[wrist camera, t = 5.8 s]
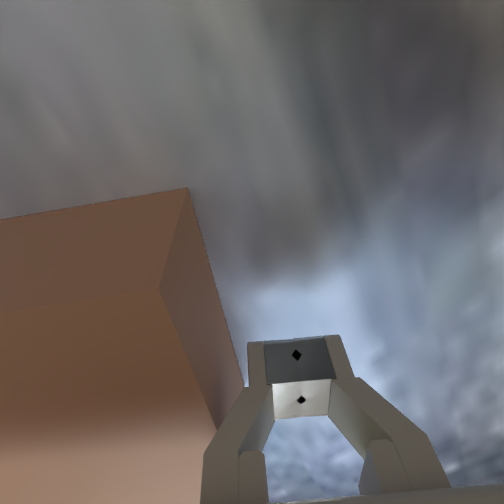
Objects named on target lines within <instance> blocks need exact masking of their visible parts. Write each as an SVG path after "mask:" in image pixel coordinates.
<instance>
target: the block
mask: <svg viewBox="0 0 504 504" xmlns="http://www.w3.org/2000/svg"><path fill="white" fill-rule="evenodd" d="M243 389H244V382H243V379H242V375H241V372H240V368H239V365H238V361H237V358H236V354H235V351H234V347H233V344H232V340H231V337H230V333H229V330H228V326H227V323H226V319H225V316H224V312H223V309H222V305H221V302H220V298H219V295H218V291H217V288H216V284H215V281H214V277H213V274H212V270H211V267H210V263H209V260H208V256H207V253H206V249H205V246H204V242H203V239H202V235H201V232H200V228H199V225H198V221H197V218H196V214H195V211H194V207H193V204H192V200H191V197H190V193H189V190H188V188H183V189H177V190H171V191H165V192H159V193H154V194H148V195H142V196H136V197H130V198H124V199H118V200H113V201H107V202H101V203H95V204H89V205H83V206H77V207H72V208H66V209H60V210H54V211H48V212H42V213H36V214H31V215H25V216H19V217H13V218H7V219H1V220H0V504H200V494H201V481H202V468H203V454H204V452H205V450H206V448H207V447H208V445H209V444H210V442H211V440H212V439H213V437H214V435H215V434H216V432H217V431H218V429H219V427H220V426H221V424H222V423H223V421H224V419H225V418H226V416H227V414H228V413H229V411H230V410H231V408H232V406H233V405H234V403H235V402H236V400H237V398H238V397H239V395H240V394H241V392H242V390H243Z"/></svg>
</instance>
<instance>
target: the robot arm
mask: <svg viewBox="0 0 504 504" xmlns="http://www.w3.org/2000/svg"><path fill="white" fill-rule="evenodd" d="M247 355H248V378H249V387H244V389H243V390H242V392H241V394H240V395H239V397H238V398H237V400H236V402H235V403H234V405H233V406H232V408H231V410H230V411H229V413H228V414H227V416H226V418H225V419H224V421H223V423H222V424H221V426H220V427H219V429H218V431H217V432H216V434H215V435H214V437H213V439H212V440H211V442H210V444H209V445H208V447H207V448H206V450H205V452H204V454H203V468H202V481H201V494H200V504H504V483H497V484H485V485H473V486H462V487H452V486H451V484H450V482H449V480H448V478H447V476H446V474H445V472H444V470H443V467H442V465H441V463H440V461H439V459H438V457H437V455H436V453H435V451H434V449H433V447H432V445H431V442H430V440H429V438H428V436H427V434H426V433H424V432H423V431H422V430H421V429H420V428H418V427H417V426H416V425H415V424H414V423H413V422H411V421H410V420H409V419H408V418H407V417H406V416H404V415H403V414H402V413H401V412H400V411H399V410H397V409H396V408H395V407H394V406H393V405H392V404H390V403H389V402H388V401H387V400H386V399H384V398H383V397H382V396H381V395H380V394H379V393H377V392H376V391H375V390H374V389H373V388H372V387H370V386H369V385H368V384H367V383H366V382H365V381H363V380H362V379H361V378H360V377H358V378H355V376H354V373H353V371H352V368H351V365H350V362H349V359H348V357H347V354H346V351H345V348H344V345H343V343H342V340H341V337H340V336H339V335H327V336H314V337H304V338H294V339H286V340H270V341H256V342H248V343H247ZM324 415H328V417H329V418H330V420H331V421H332V422H333V423H334V424H335V426H336V427H337V428H338V429H339V430H340V432H341V433H342V434H343V435H344V436H345V438H346V439H347V440H348V441H349V442H350V444H351V445H352V446H353V447H354V448H355V449H356V451H357V452H358V453H359V454H360V455H361V457H362V458H363V459H364V460H365V461H364V465H363V469H362V473H361V477H360V481H359V485H358V487H359V491H360V495H356V496H345V497H333V498H321V499H310V500H298V501H286V502H275V503H269V496H268V486H267V476H266V467H265V457H264V454H263V453H262V450H263V448H264V445H265V443H266V441H267V439H268V436H269V434H270V432H271V429H272V427H273V425H274V422H275V420H278V419H287V418H295V417H307V416H324Z"/></svg>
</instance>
